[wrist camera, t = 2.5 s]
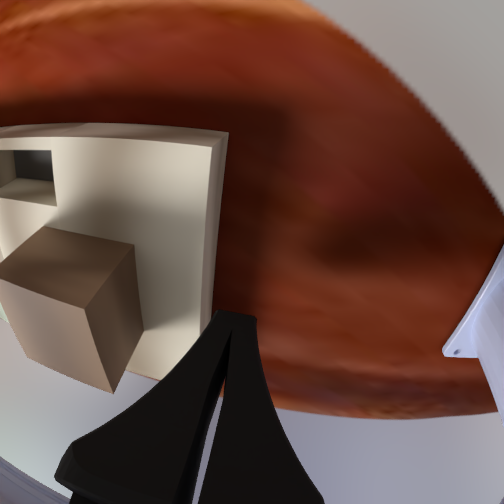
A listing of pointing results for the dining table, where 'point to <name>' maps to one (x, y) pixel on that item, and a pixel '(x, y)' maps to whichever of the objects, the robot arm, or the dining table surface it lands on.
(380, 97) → the dining table surface
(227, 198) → the dining table surface
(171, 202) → the box
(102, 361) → the walnut block
